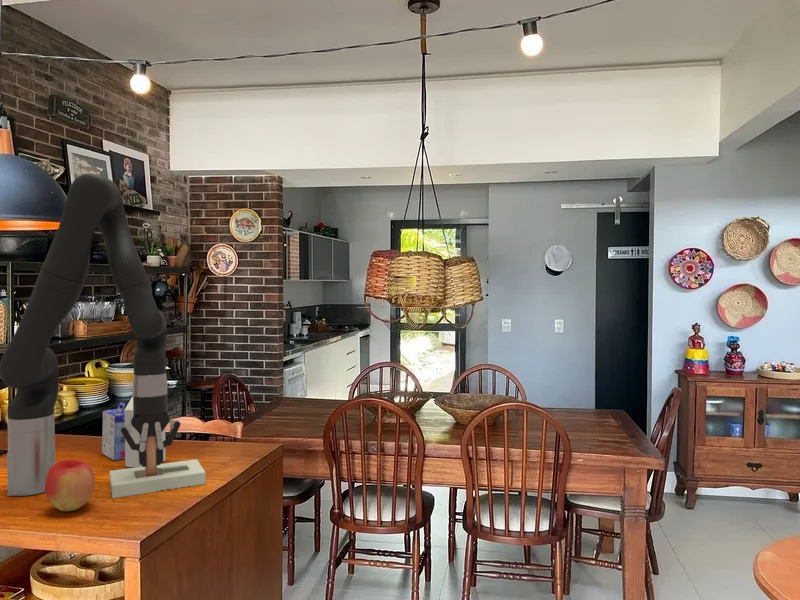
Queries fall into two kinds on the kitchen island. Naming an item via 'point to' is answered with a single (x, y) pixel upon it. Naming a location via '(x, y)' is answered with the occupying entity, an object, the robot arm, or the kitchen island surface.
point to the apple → (69, 484)
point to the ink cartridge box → (113, 433)
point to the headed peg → (151, 456)
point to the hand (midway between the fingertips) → (151, 464)
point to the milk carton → (130, 454)
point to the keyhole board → (156, 478)
